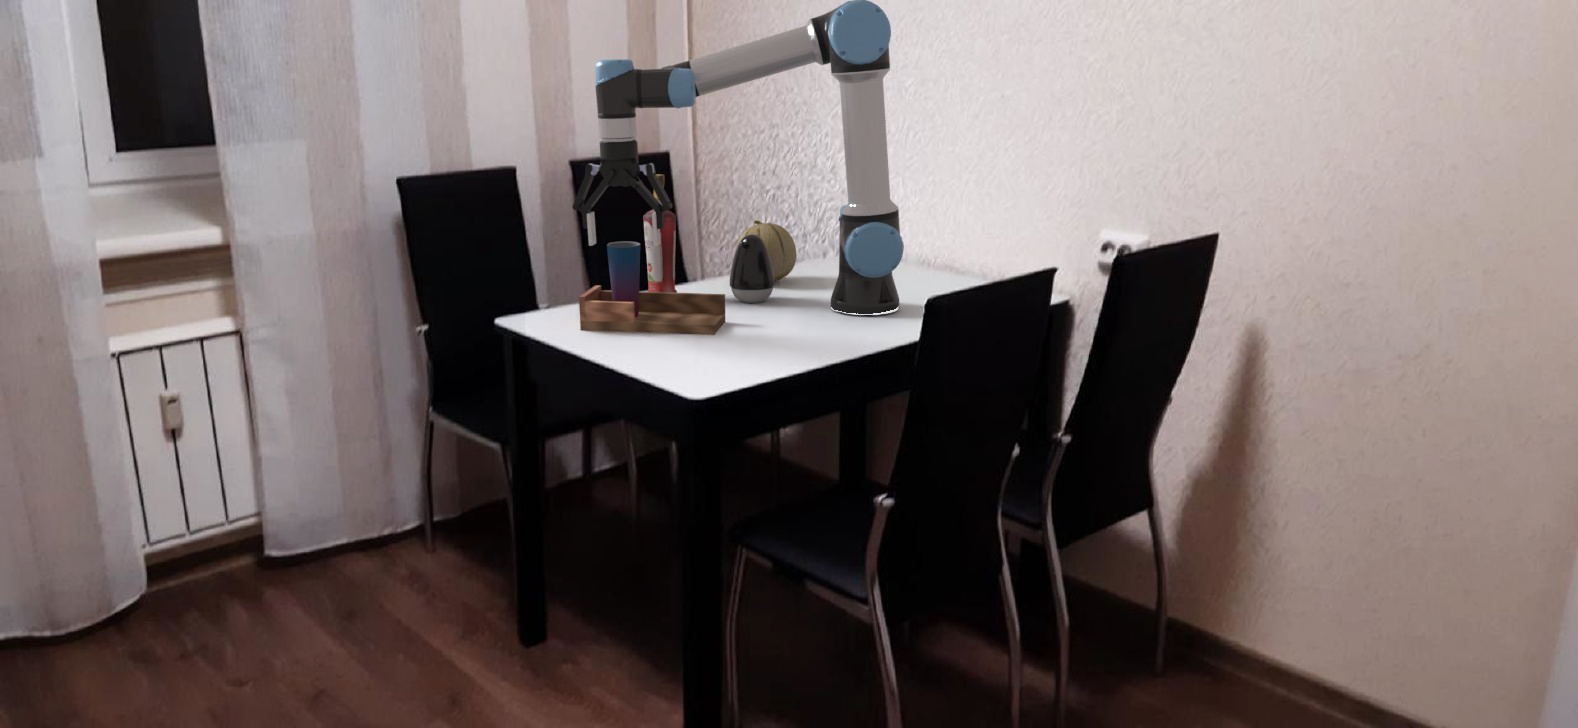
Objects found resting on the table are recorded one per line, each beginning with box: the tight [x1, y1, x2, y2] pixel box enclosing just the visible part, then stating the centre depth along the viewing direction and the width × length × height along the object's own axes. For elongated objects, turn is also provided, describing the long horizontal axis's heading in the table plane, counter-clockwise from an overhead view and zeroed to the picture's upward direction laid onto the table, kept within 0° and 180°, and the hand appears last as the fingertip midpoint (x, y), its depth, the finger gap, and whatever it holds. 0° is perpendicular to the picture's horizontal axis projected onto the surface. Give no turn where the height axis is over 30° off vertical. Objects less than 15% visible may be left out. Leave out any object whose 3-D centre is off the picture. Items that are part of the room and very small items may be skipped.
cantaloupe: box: [736, 220, 798, 283], centre depth 279 cm, size 15×15×15 cm
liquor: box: [642, 173, 678, 293], centre depth 261 cm, size 7×7×28 cm
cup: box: [606, 240, 641, 317], centre depth 238 cm, size 7×7×15 cm
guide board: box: [578, 284, 726, 336], centre depth 239 cm, size 28×11×7 cm, turn 82°
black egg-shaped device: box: [729, 234, 775, 304], centre depth 260 cm, size 10×10×15 cm
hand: (624, 244), depth 236 cm, fingers open, 13 cm apart
